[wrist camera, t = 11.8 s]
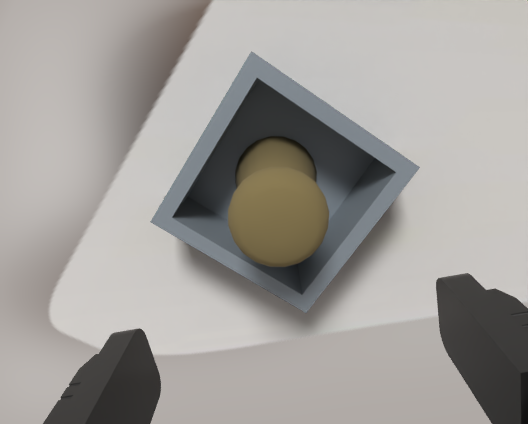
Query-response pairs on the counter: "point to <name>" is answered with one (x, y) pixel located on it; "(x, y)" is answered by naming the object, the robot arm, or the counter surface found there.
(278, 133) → the crate
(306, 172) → the cork
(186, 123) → the counter surface
